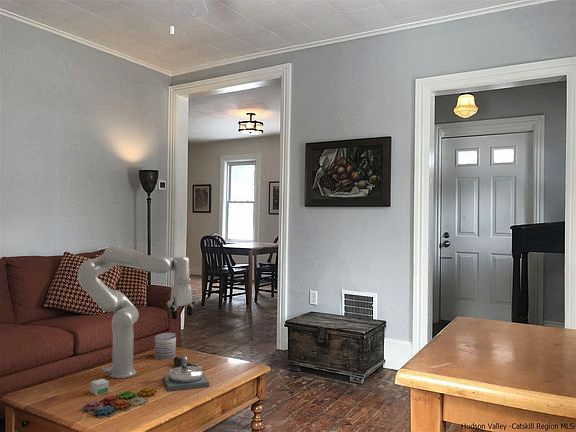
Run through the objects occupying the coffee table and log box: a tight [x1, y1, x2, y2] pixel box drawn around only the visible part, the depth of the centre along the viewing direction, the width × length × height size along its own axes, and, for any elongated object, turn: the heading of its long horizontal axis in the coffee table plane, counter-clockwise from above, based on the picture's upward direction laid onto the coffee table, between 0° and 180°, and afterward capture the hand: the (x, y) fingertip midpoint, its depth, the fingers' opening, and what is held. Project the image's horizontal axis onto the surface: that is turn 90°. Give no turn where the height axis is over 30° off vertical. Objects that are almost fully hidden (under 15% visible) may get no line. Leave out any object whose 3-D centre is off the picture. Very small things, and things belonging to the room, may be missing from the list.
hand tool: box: [173, 356, 198, 368], centre depth 237 cm, size 19×4×5 cm, turn 42°
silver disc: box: [168, 355, 204, 383], centre depth 216 cm, size 15×15×8 cm
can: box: [154, 332, 177, 360], centre depth 257 cm, size 11×11×12 cm
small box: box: [90, 378, 110, 396], centre depth 201 cm, size 6×6×5 cm
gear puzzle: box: [80, 386, 158, 420], centre depth 190 cm, size 31×16×4 cm, turn 144°
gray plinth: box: [163, 372, 210, 392], centre depth 216 cm, size 18×18×5 cm
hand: (182, 317), depth 227 cm, fingers open, 9 cm apart
